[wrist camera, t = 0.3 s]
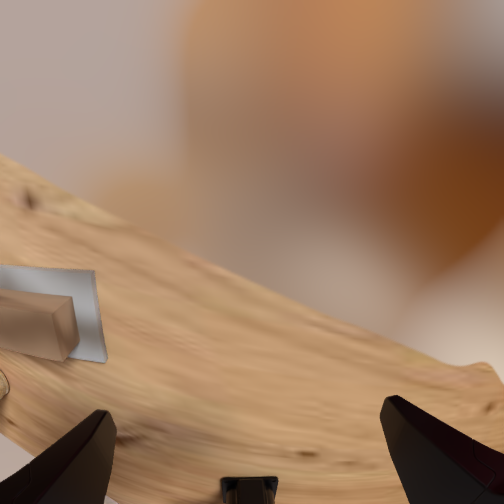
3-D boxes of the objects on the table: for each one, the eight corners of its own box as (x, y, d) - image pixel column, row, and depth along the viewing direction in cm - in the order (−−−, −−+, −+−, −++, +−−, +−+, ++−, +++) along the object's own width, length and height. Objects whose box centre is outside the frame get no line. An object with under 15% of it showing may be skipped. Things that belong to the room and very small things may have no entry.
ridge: (108, 357, 24) (90, 387, 19) (-14, 334, 23) (-36, 352, 18) (94, 270, 22) (69, 289, 18) (-31, 262, 21) (-58, 274, 16)
